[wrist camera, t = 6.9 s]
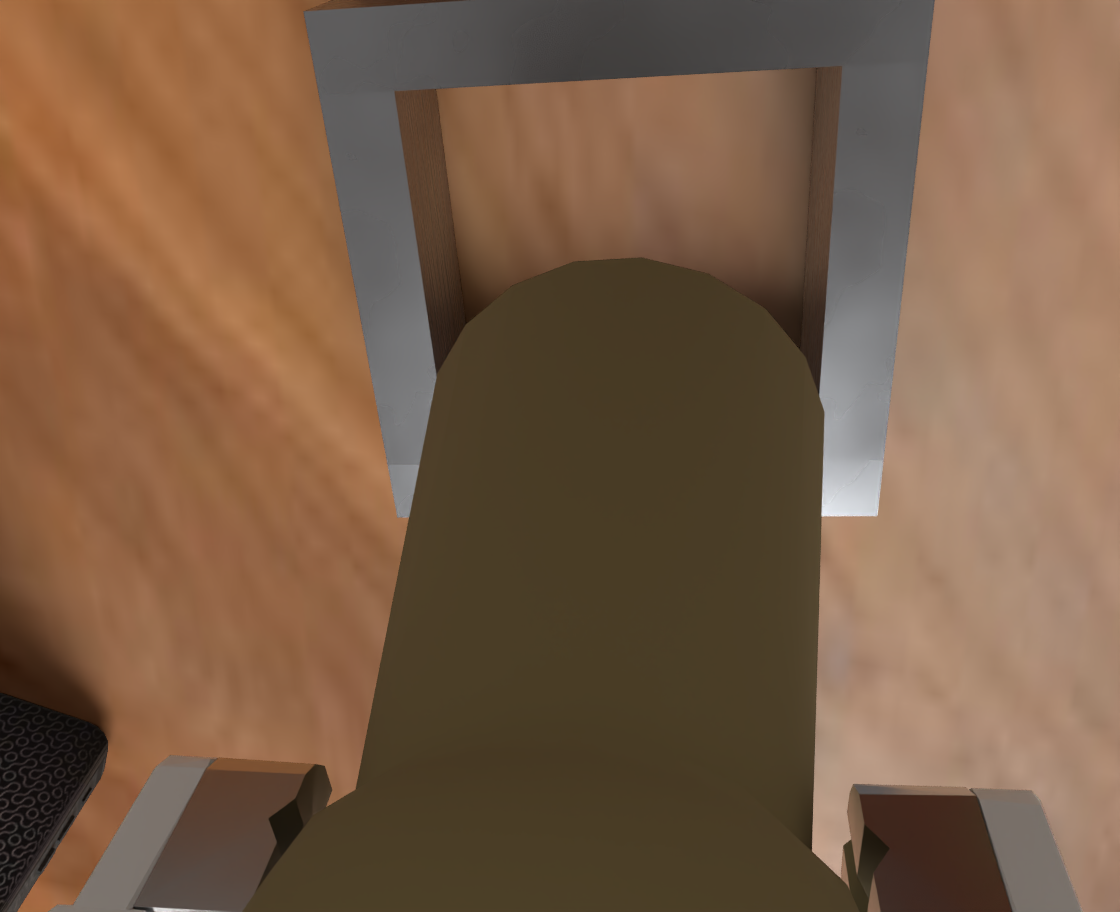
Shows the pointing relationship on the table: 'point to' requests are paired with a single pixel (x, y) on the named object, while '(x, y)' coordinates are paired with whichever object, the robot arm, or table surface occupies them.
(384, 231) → the grey square tray
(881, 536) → the table surface
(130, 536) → the table surface
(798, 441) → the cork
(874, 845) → the robot arm
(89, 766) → the phone
